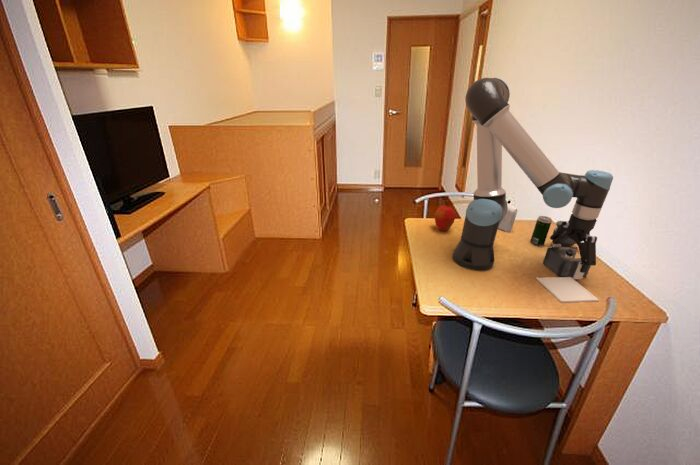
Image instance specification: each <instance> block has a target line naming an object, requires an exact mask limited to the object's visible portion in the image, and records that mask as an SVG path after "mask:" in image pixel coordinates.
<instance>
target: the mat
mask: <svg viewBox="0 0 700 465" xmlns="http://www.w3.org/2000/svg"><path fill="white" fill-rule="evenodd" d="M535 280H536V281H537V282H538V283H539V284H540V285H541V286H543V288H544V289H546V290H547V292H549V293H550V294H551V295H552V296H553V297H554V298H555V299H556V300H557V301H559V303H562V302H563V303H584V302H585V303H586V302H588V303H589V302H599V298H598V297H596V296H594V295H593V293H591V292H590V291H589V290H588V289H586V288H585V287H584V286H583V285H581V284H580V283H579V282H577V281H576V279H574V278H571V277H558V276H556V277H553V276H552V277H536V278H535Z"/></svg>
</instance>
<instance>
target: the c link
mask: <svg viewBox="0 0 700 465" xmlns="http://www.w3.org/2000/svg"><path fill="white" fill-rule="evenodd" d="M568 249H572V250H574V255H573V257H572V258H566V257H565V254H566V251H567V250H568ZM577 253H578V249H576V248H575V247H573V246H571V247H552V246H551V247H547V249H546V252H545V255H544V259H543V261H542V264H543V265H544V266H546V268H547V269H549V270H550V271H551V272H552V273H554V274H555V275H556V277H571V278H572V279H574V278H573V277H574V274H575V272H576V269H577V267H578V265H579V262H582V261H581V257H580V258H579V257H577V258H576V255H577ZM585 261H586V260H585ZM590 268H591V266H589V267H588V269H587V271H586V272H585V273H584V275H583V277H582V278H587V276H588V273H589V270H590Z"/></svg>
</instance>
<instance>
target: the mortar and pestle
mask: <svg viewBox="0 0 700 465" xmlns="http://www.w3.org/2000/svg"><path fill="white" fill-rule="evenodd" d="M563 221H564V220H557V221H556V223H555V225H556V227H555V228H554V229H553V232H552V234H553V233H554V232H555V231H556V230H557V229H558V228H559V227H560V226H561V224H562V222H563ZM567 231H568V229H567V230H566V231H565V232H567ZM565 232H564V233H565ZM564 233H563V234H564ZM563 234H562V235H563ZM559 244H561V247H573V246H574V245H577V244H576V242H575V241H574V240H573V239H570V238H568V239H566V240H565V241H563V242H561V243H559Z"/></svg>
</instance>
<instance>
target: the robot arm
mask: <svg viewBox="0 0 700 465" xmlns="http://www.w3.org/2000/svg"><path fill="white" fill-rule="evenodd" d="M510 95H511V93H510V88H509V86H508V85H507V83H506V82H505V81H504V80H502V79H500V78H498V77H482V78H479V79H477V80H475V81H474V82H473V83H472V84H470V86H469V87H468V89H467V90H466V93H465V105H466V108H467V110H468V112H470V114H471V120H472V123H473V124H475V126H476V168H477V169H476V175H477V176H476V177H477V180H476V181H477V183H476V184H477V188H476V189H475V191H473V200H472V201H470V202H469V203H468V205H467V208H466V210H465V218H464V223H463V227H462V232H461V237H460V239H459V240H460V241H458V243H457V244H456V247H455V248H454V249H453V252H452V260H453V261H454V263H455V264H456V265H458V266H460V267H463V268H465V269H467V270H469V271H470V270H471V271H477V272H484V271H488V270H491V269H492V268H493V267H494V264H495V253H494V243H495V241H496V237H497V232H498V230H499V228H498V226H499V225H500V223H501V221H502V219H503V218H504V217H505V215H506V213H507V209H508V206H507V204H508V201H507V199H506V198H507V196H506V194H507V192H506V189H504V188H503V187H502V184H503V183H502V173H503V172H502V168H503V148H504V149H505V151H506V153H508V154H509V156H511V158H512V159H513V160H514V162H515V163H516V164H517V166H519V168H520V169H521V170H522V172H523V173H524V174H525V175H526V176H527V178H528V180H530V181H531V183H532V184H533V185H534V186H535V188H537V190H538V192H539V193H540V194H541V195H542V199H543V202H544V203H545V205H546V206H548V207H550V208H551V209H561V208H564V207H566V206H568V204H569V203H570V202H571V201H572V198H575V199H576V200H575V202H574V205H573V207H572V211H571V213H572V214H570V216H569V219H568V221H567V220H565V221H564V220H562V221H563V222H562V224H561V226H560V227H559V228H558V229H557V230H556V231H555V232H554V233H553V232H552V235H551V236H550V237H549V240H550V241H551V240H552V245H551V247H561V244H559V243H561V242H563V241H565V240H566V239H568V238H570V239H573V240H574V241H575V242H576V244H575V245H577V247H578V252H579V256H580V258H581V261H582V262H579V265H578V267H577V269H576V272H575V274H574V277H573V278H572V279H574V280H582V279H583V278H584V277H583V275H584V273H585V272H586V271H587V269H588V267H589V266H590V267H592V266H596V265H597V248H596V247H597V245H596V244H597V241H598V237H597V235H596V236H592V235H590V234H591V233H590V232H591V231H592V230H593V229H594V227H595V225H596V224H597V221H598V220H597V219H598V218H599V215H600V214H601V210H602V208H603V206H604V203H605V201H606V199H607V196H608V194H609V192H610V190H611V185H612V182H613V181H614V176H613V174H612V173H610V172H607V171H605V170H598V169H597V170H596V169H595V170H594V169H589V170H587V171H586V172H585V174H584V175H583V174H581V175H578V174H573V173H566V172H561V171H559V170H558V169H557V168H556V167H555V165H554V164H553V163H552V161H551V160H550V159H549V158H548V157H547V155H546V154H545V153H544V151H543V150H542V149H541V148H540V147H539V146H538V144H537V143H536V142H535V141H534V140H533V138H532V137H531V136H530V135H529V134H528V132H527V131H526V129H525V128H524V127H523V126H522V125H521V123H520V122H519V121H518V120H517V119H516V117H515V116H514V115H513V113H512V112H511V111H510V106H511V105H510V104H509V101H510ZM567 229H568V231H567V232H565V231H566V230H567ZM564 232H565V233H564ZM563 233H564V234H563ZM562 234H563V235H562ZM585 260H586V261H585Z"/></svg>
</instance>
